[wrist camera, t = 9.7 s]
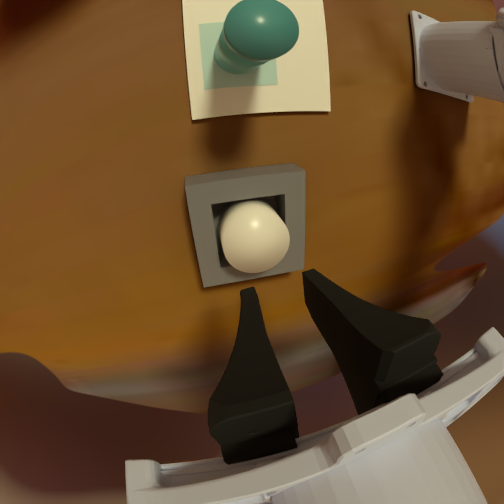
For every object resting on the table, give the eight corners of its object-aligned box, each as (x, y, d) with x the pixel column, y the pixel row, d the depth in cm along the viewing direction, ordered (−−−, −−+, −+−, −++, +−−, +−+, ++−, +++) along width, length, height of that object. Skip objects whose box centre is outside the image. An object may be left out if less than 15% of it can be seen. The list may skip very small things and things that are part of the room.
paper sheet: (314, -42, 11) (316, -43, 11) (328, 111, 19) (330, 111, 18) (180, -46, 10) (180, -48, 10) (192, 119, 17) (192, 120, 17)
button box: (293, 163, 20) (305, 170, 18) (294, 254, 24) (303, 269, 22) (185, 176, 19) (184, 186, 17) (201, 270, 23) (203, 287, 21)
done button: (275, 193, 20) (289, 208, 17) (277, 246, 22) (289, 266, 20) (214, 201, 19) (219, 218, 17) (222, 255, 22) (227, 278, 19)
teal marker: (260, 30, 14) (295, -2, 8) (265, 73, 16) (302, 58, 10) (211, 33, 14) (221, -2, 8) (216, 77, 16) (228, 61, 10)
